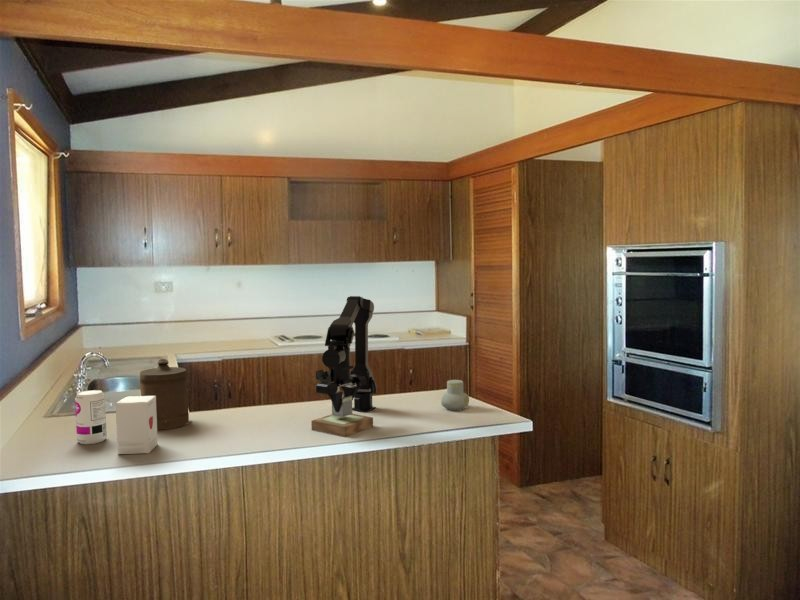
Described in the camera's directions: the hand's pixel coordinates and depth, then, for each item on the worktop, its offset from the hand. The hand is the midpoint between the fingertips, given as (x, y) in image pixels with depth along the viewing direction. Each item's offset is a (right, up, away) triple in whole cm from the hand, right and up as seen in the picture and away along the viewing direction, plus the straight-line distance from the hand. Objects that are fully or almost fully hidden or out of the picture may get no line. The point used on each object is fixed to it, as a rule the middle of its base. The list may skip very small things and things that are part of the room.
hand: (342, 410), depth 205 cm
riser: (0, -6, 0) cm, 6 cm away
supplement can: (-76, -8, -10) cm, 77 cm away
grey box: (0, -1, 0) cm, 1 cm away
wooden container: (-60, -6, +8) cm, 61 cm away
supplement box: (-58, -8, -19) cm, 61 cm away
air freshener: (+38, -4, +24) cm, 46 cm away
